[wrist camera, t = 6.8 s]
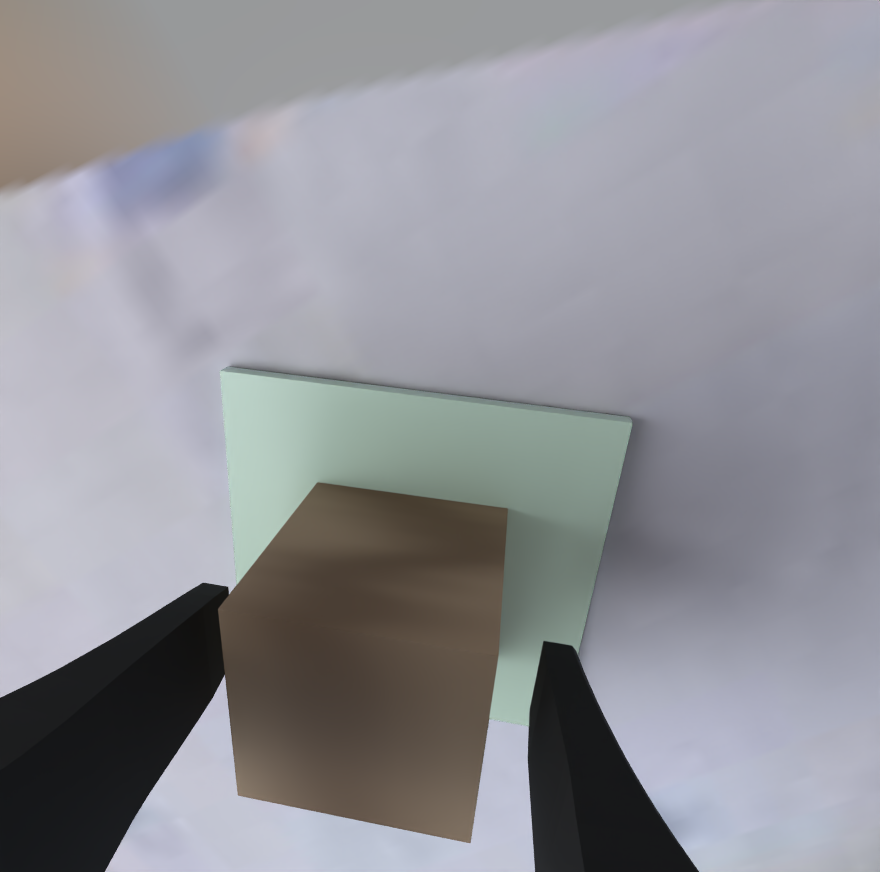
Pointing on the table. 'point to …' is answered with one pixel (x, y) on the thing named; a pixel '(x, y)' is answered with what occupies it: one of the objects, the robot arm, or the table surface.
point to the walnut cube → (368, 658)
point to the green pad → (439, 486)
